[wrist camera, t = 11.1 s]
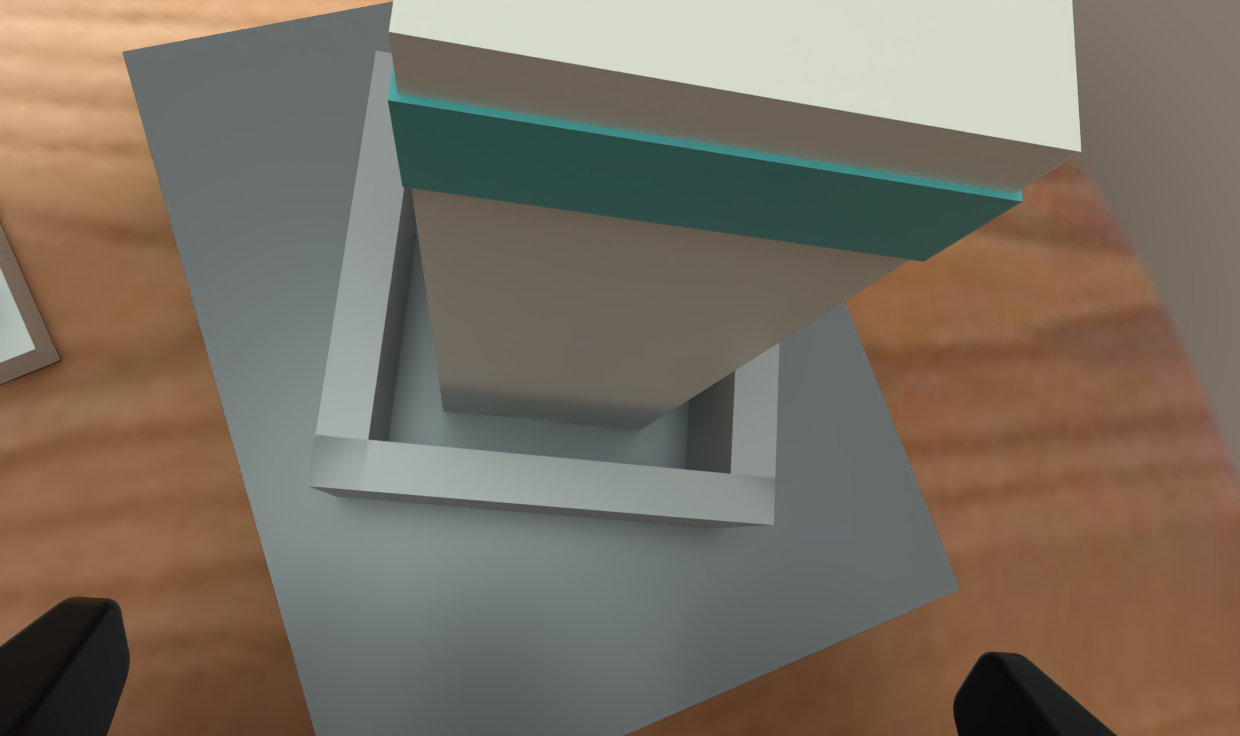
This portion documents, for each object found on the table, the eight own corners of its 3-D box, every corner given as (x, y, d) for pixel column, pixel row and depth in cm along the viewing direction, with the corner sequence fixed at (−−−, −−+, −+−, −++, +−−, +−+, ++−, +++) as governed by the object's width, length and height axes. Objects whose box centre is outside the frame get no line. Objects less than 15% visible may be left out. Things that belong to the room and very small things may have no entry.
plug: (641, 433, 17) (1089, 160, 5) (440, 413, 16) (376, 38, 4) (654, 246, 18) (1055, -372, 6) (463, 220, 17) (468, -546, 5)
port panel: (922, 585, 19) (1059, 598, 15) (359, 826, 16) (320, 934, 11) (685, -15, 21) (742, -160, 17) (149, 91, 18) (49, -53, 14)
